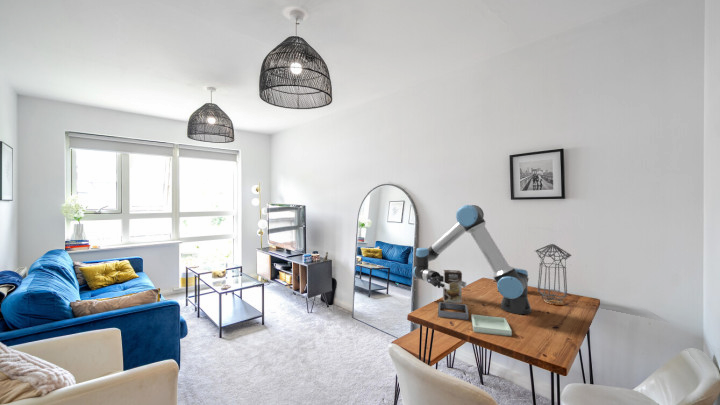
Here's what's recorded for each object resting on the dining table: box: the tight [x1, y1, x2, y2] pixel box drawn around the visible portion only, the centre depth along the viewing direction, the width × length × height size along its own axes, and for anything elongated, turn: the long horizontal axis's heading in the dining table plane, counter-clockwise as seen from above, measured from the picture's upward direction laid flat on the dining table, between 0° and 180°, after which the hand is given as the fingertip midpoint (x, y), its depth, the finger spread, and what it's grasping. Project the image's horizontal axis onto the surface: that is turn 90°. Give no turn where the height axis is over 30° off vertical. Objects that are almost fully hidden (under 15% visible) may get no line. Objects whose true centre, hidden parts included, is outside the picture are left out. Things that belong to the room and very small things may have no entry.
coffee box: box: [442, 269, 463, 304], centre depth 167 cm, size 9×6×16 cm
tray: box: [470, 314, 513, 337], centre depth 148 cm, size 16×16×2 cm
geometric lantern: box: [534, 243, 572, 301], centre depth 191 cm, size 16×16×35 cm
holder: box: [437, 301, 469, 321], centre depth 167 cm, size 15×15×3 cm
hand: (457, 286), depth 163 cm, fingers closed on coffee box, 10 cm apart
